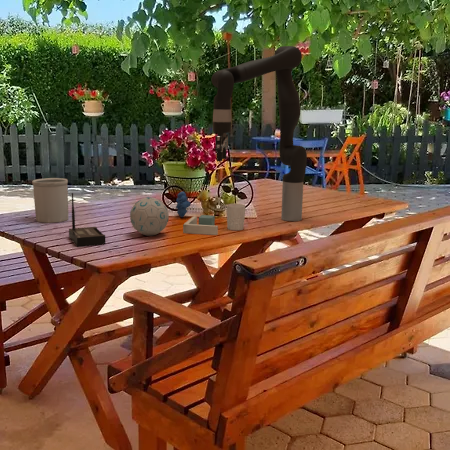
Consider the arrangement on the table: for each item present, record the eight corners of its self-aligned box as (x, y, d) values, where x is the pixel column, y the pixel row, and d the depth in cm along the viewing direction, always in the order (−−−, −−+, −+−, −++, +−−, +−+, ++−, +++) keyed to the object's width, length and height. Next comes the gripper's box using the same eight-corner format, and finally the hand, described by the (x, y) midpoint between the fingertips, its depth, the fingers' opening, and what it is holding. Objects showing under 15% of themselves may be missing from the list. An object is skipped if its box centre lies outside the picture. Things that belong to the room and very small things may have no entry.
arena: (193, 224, 266) (193, 216, 265) (225, 226, 263) (225, 218, 262) (183, 233, 250) (183, 224, 249) (217, 235, 247) (217, 226, 246)
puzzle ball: (150, 228, 256) (149, 193, 253) (176, 234, 247) (176, 197, 243) (122, 235, 245) (121, 197, 241) (149, 241, 235) (148, 202, 232)
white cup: (223, 227, 261) (223, 204, 259) (240, 226, 264) (241, 203, 261) (230, 231, 254) (230, 207, 251) (247, 230, 256) (248, 206, 254)
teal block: (198, 230, 253) (198, 217, 252) (201, 227, 258) (201, 214, 257) (211, 231, 252) (211, 218, 251) (214, 228, 257) (214, 215, 256)
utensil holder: (26, 221, 267) (24, 180, 264) (51, 215, 280) (49, 176, 276) (52, 224, 261) (50, 183, 257) (76, 218, 274) (75, 179, 270)
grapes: (194, 219, 276) (194, 192, 273) (180, 220, 274) (180, 193, 271) (187, 214, 287) (187, 188, 284) (173, 214, 284) (173, 189, 282)
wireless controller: (110, 245, 231) (109, 199, 227) (72, 248, 225) (70, 202, 221) (97, 233, 248) (96, 191, 245) (62, 236, 243) (60, 193, 239)
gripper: (227, 121, 246) (227, 162, 249) (234, 120, 259) (233, 158, 263) (209, 121, 247) (208, 161, 251) (216, 119, 261) (216, 158, 264)
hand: (221, 160), depth 257 cm, fingers open, 8 cm apart
